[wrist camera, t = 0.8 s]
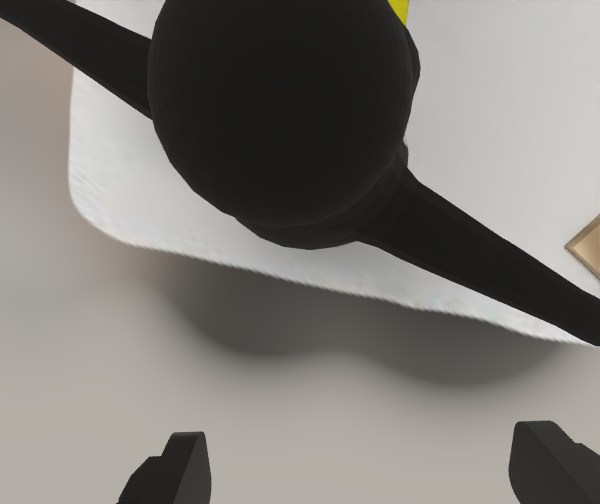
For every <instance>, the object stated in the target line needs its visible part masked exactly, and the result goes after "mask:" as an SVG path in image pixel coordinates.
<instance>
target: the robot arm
mask: <svg viewBox="0 0 600 504" xmlns="http://www.w3.org/2000/svg"><path fill="white" fill-rule="evenodd" d="M509 478H510V482H511V486H512V488H513V491H514V493H515V495H516V497H517V499H518V500H519V502H520V503H521V504H600V455H598V454H597V453H595V452H594V451H592V450H591V449H589V448H588V447H586V446H585V445H583V444H582V443H574V441H572V439H571V438H570V437H569V436H568V435H567V434H566V433H565V432H564V431H563V430H562V429H561V428H560V427H559V426H558V425H557V424H556V423H554V422H552V421H521V422H517V423H516V425H515V428H514V434H513V442H512V448H511V455H510V462H509ZM210 495H211V472H210V466H209V459H208V452H207V445H206V438H205V434H204V432H175V433H173V434H172V435H171V436H170V439H169V440H168V443H167V445H166V447H165V449H164V451H163V453H162V455H161V456H153V457H149V458H148V459H147V460H146V461H145V462H144V463H143V464H142V465H141V466H140V467H139V468H138V469H137V470H136V471H135V472H134V473H133V474H132V475H131V477H130V478H129V480H128V482H127V484H126V486H125V488H124V490H123V491H122V494H121V495H120V497H119V501H118V503H116V504H209V502H210Z"/></svg>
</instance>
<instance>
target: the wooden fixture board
mask: <svg viewBox="0 0 600 504" xmlns="http://www.w3.org/2000/svg"><path fill="white" fill-rule="evenodd" d="M565 247H566V248H567V249H568V250H569V251H570V252H571V253H572V254H573V255H574V256H575V257H576V258H577V259H578V260H580V261H581V262H582V263H583V264H584V265H585V266H586V267H587V268H588V269H589V270H590V271H591V272H592V273H593V274H594V275H595V276H596V277H598V278H599V279H600V215H599V216H598V217H597V218H596V219H595V220H593V221H592V222H591V223H590V224H589V225H588V226H587V227H586V228H585V229H583V230H582V231H581V232H580V233H579V234H578V235H577V236H576V237H575V238H573V239H572V240H571V241H570V242H569V243H568V244H567V245H566V246H565Z"/></svg>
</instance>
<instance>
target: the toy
mask: <svg viewBox="0 0 600 504" xmlns="http://www.w3.org/2000/svg"><path fill="white" fill-rule="evenodd" d="M408 4H409V0H166V1H165V3H164V5H163V7H162V9H161V11H160V14H159V16H158V18H157V20H156V22H155V27H154V31H153V36H152V40H151V39H149V38H147V37H144V36H142V35H140V34H138V33H135V32H133V31H131V30H129V29H126V28H124V27H122V26H120V25H118V24H116V23H114V22H112V21H110V20H108V19H106V18H104V17H102V16H100V15H98V14H96V13H93V12H91V11H89V10H87V9H84V8H82V7H80V6H78V5H76V4H73V3H71V2H69V1H67V0H0V18H2V19H4V20H6V21H7V22H9V23H11V24H13V25H15V26H16V27H18V28H20V29H21V30H23V31H24V32H25V33H27V34H28V35H30V36H31V37H33V38H34V39H36V40H37V41H39V42H40V43H41V44H43V45H44V46H46V47H47V48H48V49H50V50H51V51H53V52H54V53H56V54H57V55H59V56H60V57H61V58H63V59H64V60H66V61H67V62H69V63H70V64H72V65H73V66H74V67H76V68H77V69H79V70H80V71H82V72H83V73H85V74H86V75H87V76H89V77H90V78H92V79H93V80H95V81H96V82H98V83H99V84H100V85H102V86H103V87H105V88H106V89H107V90H109V91H110V92H112V93H113V94H115V95H116V96H117V97H119V98H120V99H122V100H123V101H125V102H126V103H127V104H129V105H130V106H132V107H133V108H135V109H136V110H138V111H139V112H140V113H142V114H143V115H145V116H146V117H148V118H149V119H151V120H152V121H153V124H154V128H155V131H156V133H157V136H158V138H159V140H160V142H161V144H162V146H163V148H164V150H165V152H166V154H167V157H168V159H169V161H170V163H171V164H172V165H173V167H174V168H175V169H176V170H177V172H178V173H179V174H180V175H181V176H182V178H183V179H184V180H185V181H186V182H187V184H188V185H189V186H190V187H191V189H192V190H193V191H194V192H196V193H197V194H198V195H200V196H201V197H202V198H204V199H205V200H206V201H208V202H209V203H210V204H212V205H213V206H214V207H216V208H217V209H219V210H220V211H221V212H223V213H226V214H228V215H231V216H233V217H235V218H236V219H237V220H238V221H239V222H240V223H241V224H242V225H244V226H245V227H247V228H248V229H249V230H251V231H252V232H253V233H255V234H256V235H257V236H259V237H260V238H263V239H265V240H268V241H270V242H273V243H275V244H278V245H280V246H283V247H290V248H298V249H306V250H314V249H322V248H330V247H337V246H341V245H344V244H348V243H351V242H355V241H359V242H362V243H365V244H369V245H372V246H375V247H378V248H380V249H382V250H384V251H386V252H388V253H390V254H392V255H394V256H396V257H398V258H400V259H402V260H404V261H406V262H409V263H411V264H413V265H415V266H418V267H420V268H422V269H424V270H427V271H429V272H431V273H434V274H436V275H438V276H441V277H443V278H445V279H448V280H450V281H453V282H455V283H457V284H460V285H462V286H465V287H467V288H469V289H472V290H474V291H476V292H479V293H481V294H483V295H485V296H488V297H490V298H492V299H495V300H497V301H499V302H502V303H504V304H506V305H509V306H511V307H513V308H516V309H518V310H520V311H523V312H525V313H527V314H530V315H532V316H534V317H537V318H539V319H541V320H543V321H546V322H548V323H550V324H553V325H555V326H557V327H559V328H561V329H562V330H564V331H566V332H568V333H570V334H571V335H573V336H575V337H577V338H579V339H581V340H583V341H585V342H588V343H590V344H592V345H595V346H600V299H599V298H597V297H595V296H593V295H591V294H589V293H587V292H585V291H583V290H582V289H580V288H579V287H577V286H576V285H574V284H573V283H571V282H569V281H568V280H566V279H565V278H563V277H562V276H560V275H559V274H557V273H556V272H554V271H553V270H551V269H550V268H549V267H547V266H546V265H544V264H543V263H541V262H540V261H538V260H537V259H535V258H534V257H532V256H531V255H529V254H528V253H526V252H525V251H523V250H522V249H520V248H518V247H517V246H515V245H514V244H512V243H510V242H509V241H507V240H505V239H503V238H502V237H500V236H499V235H497V234H496V233H494V232H493V231H491V230H490V229H488V228H487V227H485V226H484V225H482V224H481V223H480V222H478V221H477V220H475V219H474V218H472V217H471V216H469V215H468V214H466V213H465V212H463V211H462V210H461V209H459V208H458V207H456V206H455V205H453V204H452V203H450V202H449V201H447V200H446V199H444V198H443V197H441V196H440V195H438V194H437V193H435V192H434V191H432V190H431V189H429V188H428V187H426V186H425V185H423V184H422V183H420V182H419V181H418V180H417V179H416V178H415V177H414V175H413V174H412V173H411V172H410V170H409V169H408V168H407V165H408V147H407V142H406V137H405V130H406V127H407V123H408V120H409V116H410V112H411V106H412V100H413V96H414V93H415V90H416V86H417V83H418V80H419V76H420V68H421V67H420V61H419V54H418V50H417V48H416V46H415V44H414V41H413V39H412V37H411V35H410V33H409V31H408V29H407V28H406V20H407V12H408Z"/></svg>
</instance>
